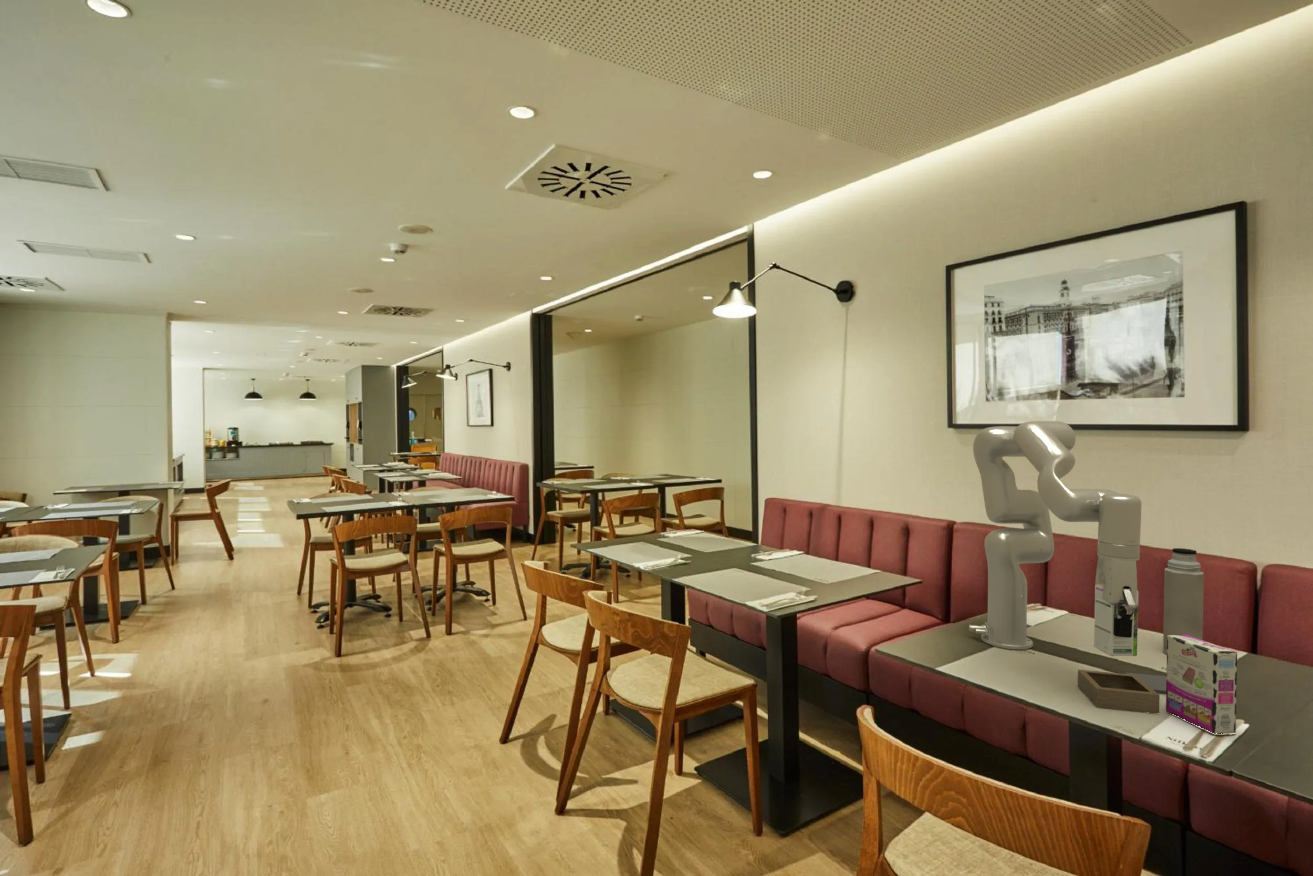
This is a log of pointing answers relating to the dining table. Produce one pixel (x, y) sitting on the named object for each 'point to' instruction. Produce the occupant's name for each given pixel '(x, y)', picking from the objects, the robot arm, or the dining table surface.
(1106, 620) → the syrup box
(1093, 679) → the collar
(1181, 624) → the thermos bottle
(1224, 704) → the candy bar box
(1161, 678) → the mat
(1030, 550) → the robot arm
